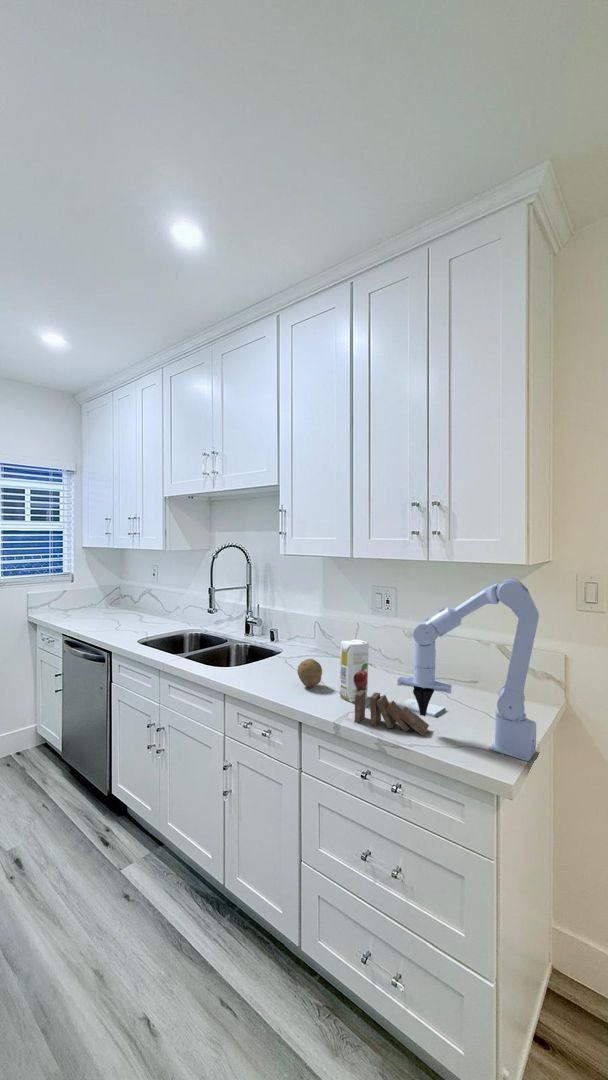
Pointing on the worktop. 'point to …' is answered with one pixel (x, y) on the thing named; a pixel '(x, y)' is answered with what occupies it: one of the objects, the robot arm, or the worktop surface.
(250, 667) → the worktop surface
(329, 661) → the worktop surface
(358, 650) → the juice carton
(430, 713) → the external hard drive
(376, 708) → the domino
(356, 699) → the domino
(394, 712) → the domino
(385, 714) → the domino
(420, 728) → the domino
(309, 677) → the brown round lump
